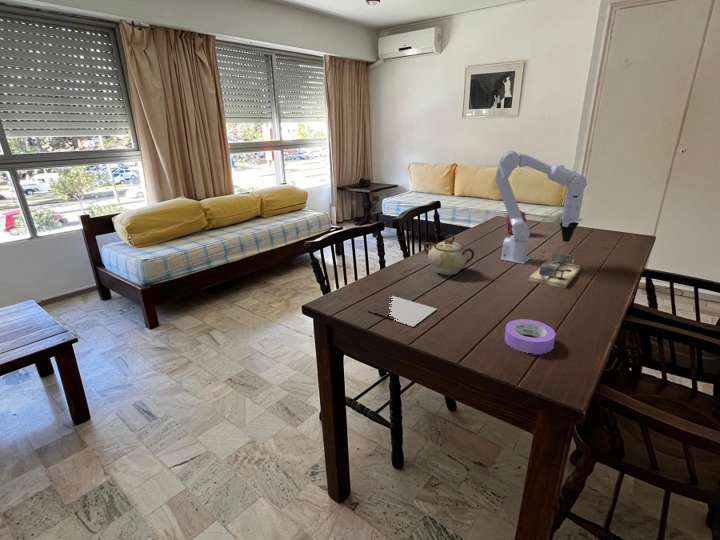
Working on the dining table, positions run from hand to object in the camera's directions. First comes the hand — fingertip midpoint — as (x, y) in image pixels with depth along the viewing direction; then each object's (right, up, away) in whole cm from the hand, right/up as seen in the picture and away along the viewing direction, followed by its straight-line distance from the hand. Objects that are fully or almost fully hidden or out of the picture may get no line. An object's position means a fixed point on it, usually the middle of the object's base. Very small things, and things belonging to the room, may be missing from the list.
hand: (566, 240), depth 149 cm
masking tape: (-38, -31, -51) cm, 70 cm away
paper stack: (-62, -24, -31) cm, 74 cm away
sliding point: (-3, -9, -3) cm, 9 cm away
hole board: (-9, -13, -8) cm, 18 cm away
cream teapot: (-47, -12, -2) cm, 49 cm away
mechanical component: (-2, +7, +46) cm, 47 cm away
